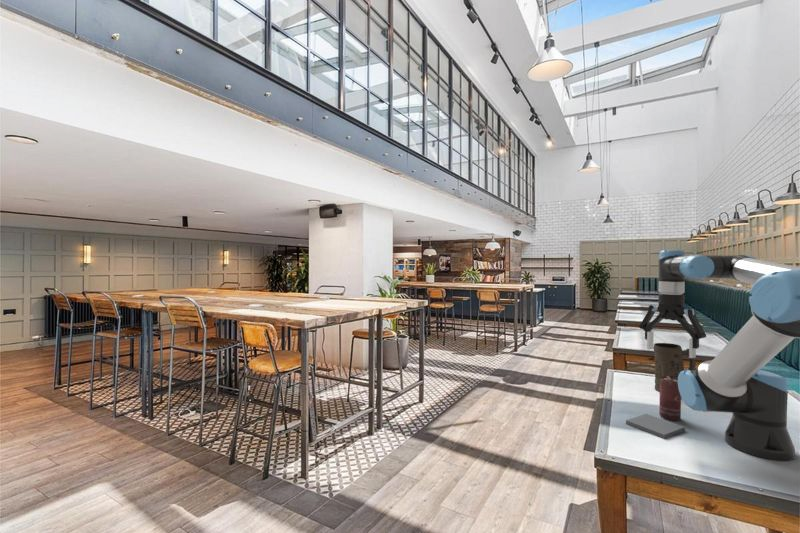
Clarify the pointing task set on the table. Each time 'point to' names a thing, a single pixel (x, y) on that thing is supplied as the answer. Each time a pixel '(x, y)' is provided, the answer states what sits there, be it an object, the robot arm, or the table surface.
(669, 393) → the can
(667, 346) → the beer stein
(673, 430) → the mat
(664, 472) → the table surface
